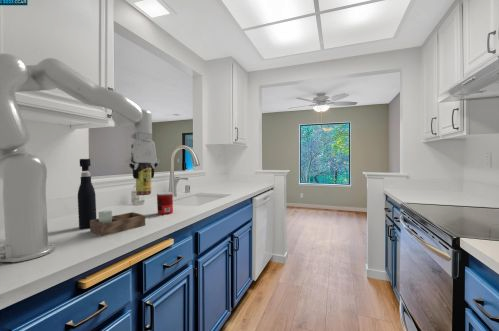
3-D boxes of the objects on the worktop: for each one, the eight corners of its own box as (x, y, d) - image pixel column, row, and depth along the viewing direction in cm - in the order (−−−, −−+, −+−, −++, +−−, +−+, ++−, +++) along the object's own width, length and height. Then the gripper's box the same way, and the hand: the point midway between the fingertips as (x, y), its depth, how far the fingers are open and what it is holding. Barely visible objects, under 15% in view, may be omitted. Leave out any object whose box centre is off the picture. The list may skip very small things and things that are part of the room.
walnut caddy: (101, 236, 88) (100, 224, 88) (90, 231, 95) (89, 220, 95) (145, 225, 102) (145, 215, 102) (133, 221, 109) (132, 212, 109)
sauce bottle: (145, 196, 100) (144, 149, 100) (132, 195, 101) (131, 150, 101) (154, 193, 106) (153, 150, 106) (142, 193, 108) (141, 151, 107)
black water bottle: (98, 226, 102) (95, 158, 101) (80, 230, 97) (77, 158, 96) (94, 224, 106) (91, 159, 106) (77, 227, 102) (74, 159, 101)
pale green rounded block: (101, 231, 91) (101, 213, 91) (97, 229, 94) (96, 212, 94) (114, 228, 95) (113, 211, 95) (109, 226, 98) (109, 210, 98)
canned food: (175, 211, 128) (174, 191, 128) (168, 215, 120) (167, 194, 120) (163, 211, 129) (162, 192, 129) (154, 215, 121) (153, 194, 121)
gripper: (126, 135, 94) (127, 179, 95) (165, 138, 108) (166, 177, 108) (118, 137, 99) (119, 179, 99) (156, 140, 113) (157, 176, 113)
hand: (143, 177), depth 104 cm, fingers closed on sauce bottle, 6 cm apart
